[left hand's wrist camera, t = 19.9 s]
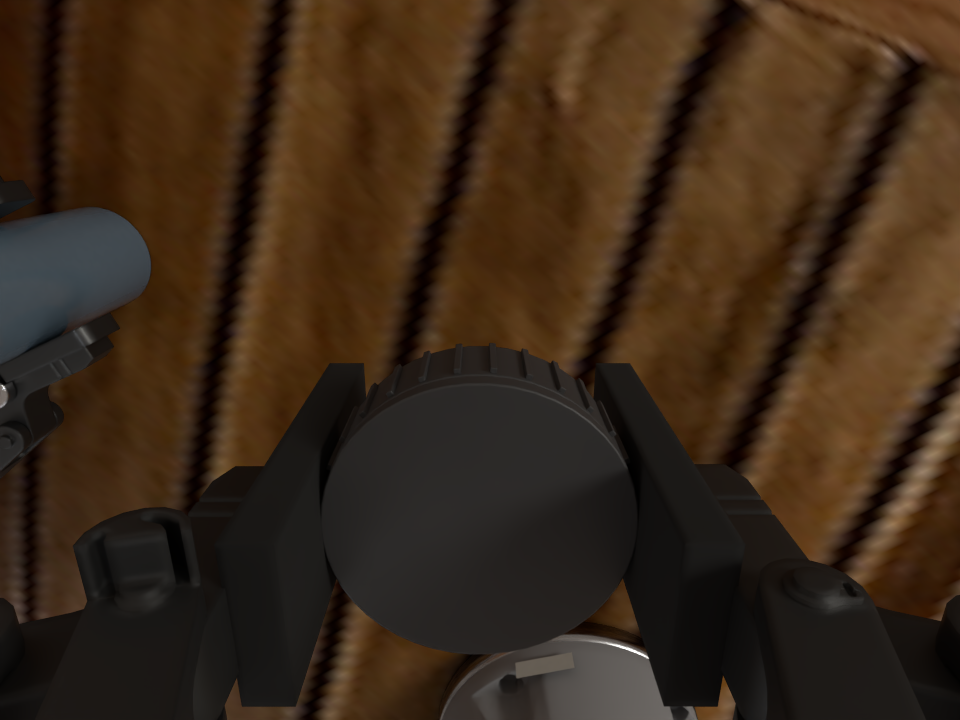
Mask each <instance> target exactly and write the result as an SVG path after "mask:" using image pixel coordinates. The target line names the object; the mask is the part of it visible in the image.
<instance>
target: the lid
mask: <svg viewBox="0 0 960 720" xmlns="http://www.w3.org/2000/svg"><path fill="white" fill-rule="evenodd" d="M628 463H630V459H629V457H628V455H627V453H626V450H625V448H624V446H623V444H622V441H621V439H620V437H619V435H618V433H617V430H616V428H615V426H614V425H613V426H612V424H611V422H610V419H609V417H608V415H607V413H606V410H605V408H604V406H603V404H602V402H601V401H600V400H599V401H597V402H595V400H594V399H593V398H592V397H591V395H590V394H589V393H588V392H587V390H586V388H585V385H584V383H583V381H582V380H581V379H580V378H578V379H577V380H575V379H573V378H572V377H571V376H569V375H568V374H567V373H565V372H564V371H563V370H561V369H560V368H559V366H558V363H557V362H555V361H552V362H551V364H550V363H549V362H547V361H545V360H543V359H540V358H537V357H535V356H532V355H530V354H529V353H528V350H526V349H522V350H521V352H519V351H515V350H511V349H507V348H499V347H496V344H495V343H489V346H468V347H462V344H456V348H453V349H447V350H443V351H440V352H436V353H432V354H431V353H430V351H427V352H424V355H423V357H422V358H419V359H417V360H414V361H412V362H410V363H409V364H407V365H405V366H403V367H402V366H401V365H400V364H399V365H397V366H396V367H395V369H394V372H393V373H392V374H391V375H390V376H388V377H387V378H386V379H384V380H383V381H382V382H381V383H380V384H379V385H377V384H376V383H374V384H373V385H372V386H371V388H370V390H369V392H368V395H367V397H366V399H365V400H364V402H363V403H362V404H361V406H360V407H357V406H355V407H354V408H353V410H352V412H351V415H350V417H349V419H348V421H347V423H346V426H345V428H344V430H343V432H342V434H341V436H340V438H339V440H338V443H337V445H336V447H335V449H334V451H333V453H332V456H331V458H330V460H329V462H328V465H327V468H326V469H327V470H330V472H329V474H328V477H327V480H326V482H325V485H324V490H323V495H322V499H321V507H320V513H321V526H322V536H323V545H324V550H325V553H326V557H327V559H328V562H329V564H330V566H331V569H332V571H333V573H334V575H335V577H336V578H337V580H338V582H339V583H340V585H341V587H342V588H343V590H344V591H345V592H346V593H347V595H348V596H349V597H350V598H351V599H352V601H353V602H354V603H355V604H356V605H357V606H358V607H359V608H360V609H361V610H362V611H363V612H364V613H365V614H366V615H368V616H369V617H370V618H372V619H373V620H374V621H376V622H377V623H378V624H380V625H381V626H383V627H384V628H386V629H388V630H389V631H391V632H393V633H395V634H396V635H398V636H400V637H403V638H405V639H407V640H410V641H412V642H414V643H417V644H420V645H423V646H426V647H429V648H433V649H437V650H442V651H447V652H453V653H463V654H497V653H506V652H512V651H517V650H522V649H526V648H530V647H533V646H536V645H539V644H542V643H545V642H547V641H550V640H552V639H554V638H556V637H558V636H561V635H563V634H564V633H566V632H568V631H570V630H571V629H573V628H575V627H576V626H578V625H579V624H581V623H582V622H583V621H585V620H586V619H587V618H589V617H590V616H591V615H593V614H594V613H595V612H596V611H597V610H598V609H599V608H600V607H601V606H602V605H603V604H604V603H605V602H606V601H607V600H608V598H609V597H610V596H611V594H612V593H613V592H614V591H615V589H616V588H617V587H618V585H619V583H620V582H621V580H622V578H623V577H624V575H625V573H626V571H627V569H628V566H629V564H630V561H631V559H632V557H633V553H634V549H635V545H636V541H637V531H638V521H639V510H638V500H637V495H636V490H635V486H634V483H633V480H632V477H631V475H630V472H629V470H628V467H627V465H626V464H628Z"/></svg>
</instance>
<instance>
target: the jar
mask: <svg viewBox="0 0 960 720" xmlns="http://www.w3.org/2000/svg"><path fill="white" fill-rule="evenodd" d="M150 272H151V260H150V255H149V251H148V248H147V246H146V244H145V242H144V240H143V238H142V236H141V235H140V234H139V232H138V231H137V230H136V229H135V228H134V227H133V226H132V225H131V224H130V223H129V222H128V221H127V220H125V219H124V218H122V217H121V216H119V215H117V214H116V213H114V212H111V211H109V210H106V209H102V208H97V207H83V208H76V209H71V210H66V211H60V212H55V213H49V214H44V215H38V216H33V217H28V218H22V219H17V220H11V221H6V222H1V223H0V365H1V364H3V363H5V362H7V361H9V360H11V359H13V358H15V357H18V356H19V355H21V354H23V353H25V352H27V351H29V350H31V349H33V348H35V347H37V346H39V345H42V344H44V343H46V342H48V341H50V340H52V339H54V338H56V337H58V336H60V335H62V334H65V333H67V332H69V331H71V330H73V329H75V328H77V327H80V326H82V325H84V324H86V323H88V322H90V321H92V320H94V319H96V318H98V317H100V316H103V315H105V314H107V313H109V312H111V311H113V310H115V309H117V308H119V307H121V306H123V305H125V304H127V303H129V302H131V301H133V300H135V299H136V298H137V297H138V296H139V295H140V294H141V293H142V292H143V291H144V289H145V288H146V286H147V283H148V281H149V278H150Z"/></svg>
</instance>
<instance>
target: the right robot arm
mask: <svg viewBox="0 0 960 720" xmlns="http://www.w3.org/2000/svg"><path fill="white" fill-rule="evenodd" d="M34 200H35V198H34V196H33V195H32V193H31V192H30V190H29V189H28V187H27V186H26V184H25V183H24V181H23V180H18V181H8V182H4V181H3V179H2V178H1V176H0V218H2V217H4V216H6V215H8V214H10V213H11V212H13V211H15V210H17V209H19V208H21V207H23V206H25V205H27V204H29V203H31V202H33V201H34ZM118 329H120V327H119V326H118V324H117V323H116V321H115V320H114V318H113V317H112V315H111V314H110V313H107V314H105V315H103V316H101V317H99V318H97V319H95V320H92V321H90V322H88V323H86V324H84V325H82V326H80V327H77V328H75V329H73V330H71V331H69V332H67V333H65V334H62V335H60V336H58V337H56V338H54V339H52V340H50V341H48V342H46V343H44V344H42V345H39V346H37V347H35V348H33V349H31V350H29V351H27V352H25V353H23V354H21V355H19V356H18V357H15V358H13V359H11V360H9V361H7V362H5V363H3V364H1V365H0V479H1V478H2V477H3V476H4V475H5V474H6V473H7V472H8V471H10V470H11V469H12V468H13V467H14V466H15V465H16V464H17V463H18V462H20V461H21V460H22V459H23V458H24V457H25V456H26V455H27V454H28V453H29V452H31V451H32V450H33V449H34V448H35V447H36V446H37V445H38V444H39V443H41V442H42V441H43V440H44V439H45V438H46V437H47V436H48V435H49V434H51V433H52V432H53V431H54V430H55V429H56V428H57V427H58V426H59V425H61V423H62V422H63V420H64V414H63V411H62V409H61V408H60V407H59V406H58V405H57V404H55V403H54V402H51V401H50V400H49V397H48V387H49V385H50V384H52V383H54V382H56V381H58V380H61V379H63V378H65V377H67V376H69V375H71V374H74V373H76V372H78V371H80V370H83V369H85V368H86V367H88V366H90V365H92V364H93V363H95V362H97V361H98V360H100V359H102V358H103V357H105V356H106V355H107V354H108V353H109V352H110V351H111V349H112V348H113V347H114V346H113V344H112V343H111V341H110V340H109V338H108V337H107V335H109V334H111V333H113V332H115V331H116V330H118Z"/></svg>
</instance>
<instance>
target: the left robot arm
mask: <svg viewBox="0 0 960 720" xmlns="http://www.w3.org/2000/svg"><path fill="white" fill-rule="evenodd" d="M365 399H366V391H365V376H364V363H330V364H329V365H328V367H327V369H326V370H325V372H324V373H323V375H322V376H321V378H320V380H319V381H318V383H317V384H316V386H315V387H314V389H313V391H312V392H311V394H310V395H309V397H308V398H307V400H306V401H305V403H304V405H303V406H302V408H301V409H300V411H299V412H298V414H297V416H296V417H295V419H294V420H293V422H292V423H291V425H290V427H289V428H288V430H287V431H286V433H285V434H284V436H283V437H282V439H281V441H280V442H279V444H278V445H277V447H276V448H275V450H274V452H273V453H272V455H271V456H270V458H269V459H268V461H267V463H266V464H265V466H235V467H234V468H232V469H231V470H229V471H228V472H226V473H225V474H223V475H222V476H220V477H219V478H217V479H215V480H214V481H213V482H212V483H211V484H210V486H209V487H208V488H207V490H206V491H205V492H204V493H203V495H202V496H201V497H200V501H199V502H197V503H196V504H195V505H194V507H193V508H192V509H191V511H190V512H189V513H188V514H189V515H188V516H186V515H185V514H184V513H183V512H182V511H179V510H175V509H171V508H166V507H159V508H143V509H138V510H134V511H129V512H125V513H122V514H119V515H117V516H114V517H112V518H109V519H107V520H104V521H102V522H100V523H99V524H97V525H96V526H94V527H93V528H91V529H90V530H88V531H86V532H85V533H84V534H83V535H82V536H81V537H80V538H79V539H78V541H77V542H76V543H75V544H74V545H73V548H74V552H75V556H76V559H77V563H78V567H79V571H80V575H81V578H82V582H83V586H84V590H85V593H86V597H87V604H86V606H85V608H84V609H83V610H79V611H76V612H72V613H68V614H64V615H59V616H54V617H50V618H45V619H40V620H36V621H31V622H26V623H22V624H19V622H18V619H17V616H16V612H15V609H14V606H13V605H11V604H10V603H9V602H8V601H6V600H5V599H4V598H0V720H227V716H226V711H225V703H226V701H227V698H228V696H229V694H230V692H231V689H232V687H233V685H234V683H235V680H236V678H237V680H238V686H239V692H240V698H241V703H242V707H296V704H297V701H298V698H299V695H300V691H301V688H302V685H303V682H304V679H305V676H306V673H307V669H308V666H309V663H310V660H311V657H312V654H313V651H314V647H315V644H316V641H317V638H318V635H319V632H320V629H321V626H322V622H323V619H324V616H325V613H326V610H327V607H328V604H329V600H330V597H331V594H332V591H333V588H334V585H335V582H336V577H335V575H334V573H333V571H332V569H331V566H330V564H329V562H328V559H327V557H326V553H325V550H324V545H323V536H322V526H321V513H320V507H321V499H322V495H323V490H324V485H325V482H326V480H327V477H328V474H329V472H330V470H327V469H326V468H327V465H328V462H329V460H330V458H331V456H332V453H333V451H334V449H335V447H336V445H337V443H338V440H339V438H340V436H341V434H342V432H343V430H344V428H345V426H346V423H347V421H348V419H349V417H350V415H351V412H352V410H353V408H354V407H355V406H357V407H360V406H361V404H362V403H363V402H364V400H365ZM594 400H595V402H597V401H599V400H600V401H601V402H602V404H603V406H604V408H605V410H606V413H607V415H608V417H609V419H610V422H611V424H612V426H613V425H614V426H615V428H616V430H617V433H618V435H619V437H620V439H621V441H622V444H623V446H624V448H625V450H626V453H627V455H628V457H629V459H630V463H628V464H626V465H627V467H628V470H629V472H630V475H631V477H632V480H633V483H634V486H635V490H636V495H637V500H638V510H639V521H638V531H637V541H636V545H635V549H634V553H633V557H632V559H631V561H630V564H629V566H628V569H627V571H626V573H625V575H624V577H623V580H624V583H625V586H626V589H627V592H628V595H629V598H630V602H631V605H632V608H633V611H634V614H635V617H636V620H637V624H638V627H639V630H640V633H641V636H642V638H640V637H638V636H636V635H634V634H631V633H629V632H627V631H624V630H621V629H618V628H615V627H610V626H606V625H602V624H595V623H588V622H582V623H581V624H579V625H578V626H576V627H575V628H573V629H571V630H570V631H568V632H566V633H564V634H563V635H561V636H558V637H556V638H554V639H552V640H550V641H547V642H545V643H542V644H539V645H536V646H533V647H530V648H526V649H522V650H517V651H512V652H506V653H497V654H473V655H472V656H471V657H470V658H469V659H468V660H467V661H466V662H465V663H464V664H463V665H462V666H461V667H460V668H459V669H458V671H457V672H456V673H455V674H454V676H453V677H452V679H451V680H450V682H449V684H448V686H447V688H446V690H445V692H444V695H443V698H442V701H441V705H440V710H439V720H698V718H697V715H696V711H695V708H694V707H718V701H719V695H720V689H721V684H722V678H723V676H724V678H725V680H726V683H727V685H728V687H729V689H730V691H731V694H732V696H733V698H734V700H735V703H736V705H735V711H734V716H733V720H960V595H957V596H955V597H954V598H953V599H952V600H950V601H949V602H948V603H947V604H946V608H945V611H944V614H943V617H942V620H941V621H937V620H933V619H928V618H923V617H919V616H914V615H909V614H905V613H900V612H895V611H891V610H887V609H883V608H880V607H876V606H875V605H874V602H873V600H872V599H871V598H870V596H869V595H868V594H867V592H866V591H865V589H864V588H863V587H862V586H861V585H860V584H858V583H857V582H856V581H854V580H853V579H852V578H850V577H849V576H848V575H846V574H845V573H842V572H840V571H838V570H836V569H834V568H832V567H830V566H827V565H825V564H821V563H818V562H814V561H810V560H808V558H807V557H806V556H805V554H804V553H803V552H802V550H801V549H800V548H799V546H798V545H797V544H796V543H795V541H794V540H793V539H792V537H791V536H790V535H789V533H788V532H787V531H786V529H785V528H784V527H783V525H782V524H781V523H780V522H779V520H778V519H777V518H776V516H775V515H772V513H771V510H770V508H769V507H768V506H767V504H766V503H765V502H764V501H763V500H761V499H760V495H759V494H758V493H757V491H756V490H755V489H754V487H753V486H752V485H751V484H750V482H749V481H748V480H747V479H746V478H745V477H743V476H742V475H740V474H738V473H737V472H735V471H734V470H732V469H731V468H729V467H728V466H726V465H725V464H694V463H693V462H692V460H691V458H690V457H689V455H688V454H687V452H686V451H685V449H684V448H683V446H682V444H681V443H680V441H679V440H678V438H677V437H676V435H675V433H674V432H673V430H672V429H671V427H670V426H669V424H668V422H667V421H666V419H665V418H664V416H663V415H662V413H661V412H660V410H659V408H658V407H657V405H656V404H655V402H654V401H653V399H652V397H651V396H650V394H649V393H648V391H647V390H646V388H645V386H644V385H643V383H642V382H641V380H640V379H639V377H638V375H637V374H636V372H635V371H634V369H633V368H632V366H631V365H630V363H596V370H595V385H594Z"/></svg>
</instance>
